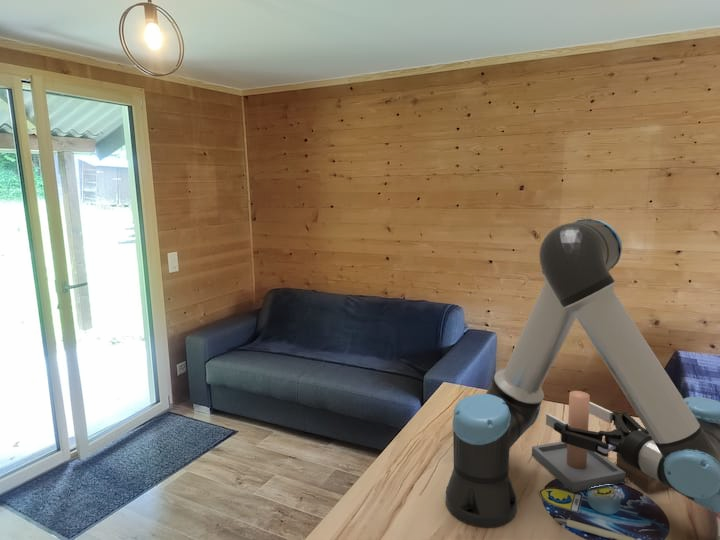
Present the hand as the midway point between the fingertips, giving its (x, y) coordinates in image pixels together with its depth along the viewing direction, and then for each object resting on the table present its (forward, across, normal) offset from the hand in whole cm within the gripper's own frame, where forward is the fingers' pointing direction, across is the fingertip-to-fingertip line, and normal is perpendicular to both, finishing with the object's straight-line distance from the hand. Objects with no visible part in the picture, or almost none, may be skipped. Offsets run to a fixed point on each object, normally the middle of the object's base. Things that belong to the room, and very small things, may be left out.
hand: (568, 412), depth 118 cm
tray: (-3, 0, -13) cm, 14 cm away
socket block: (-13, +12, -13) cm, 22 cm away
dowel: (-3, 0, -12) cm, 12 cm away
